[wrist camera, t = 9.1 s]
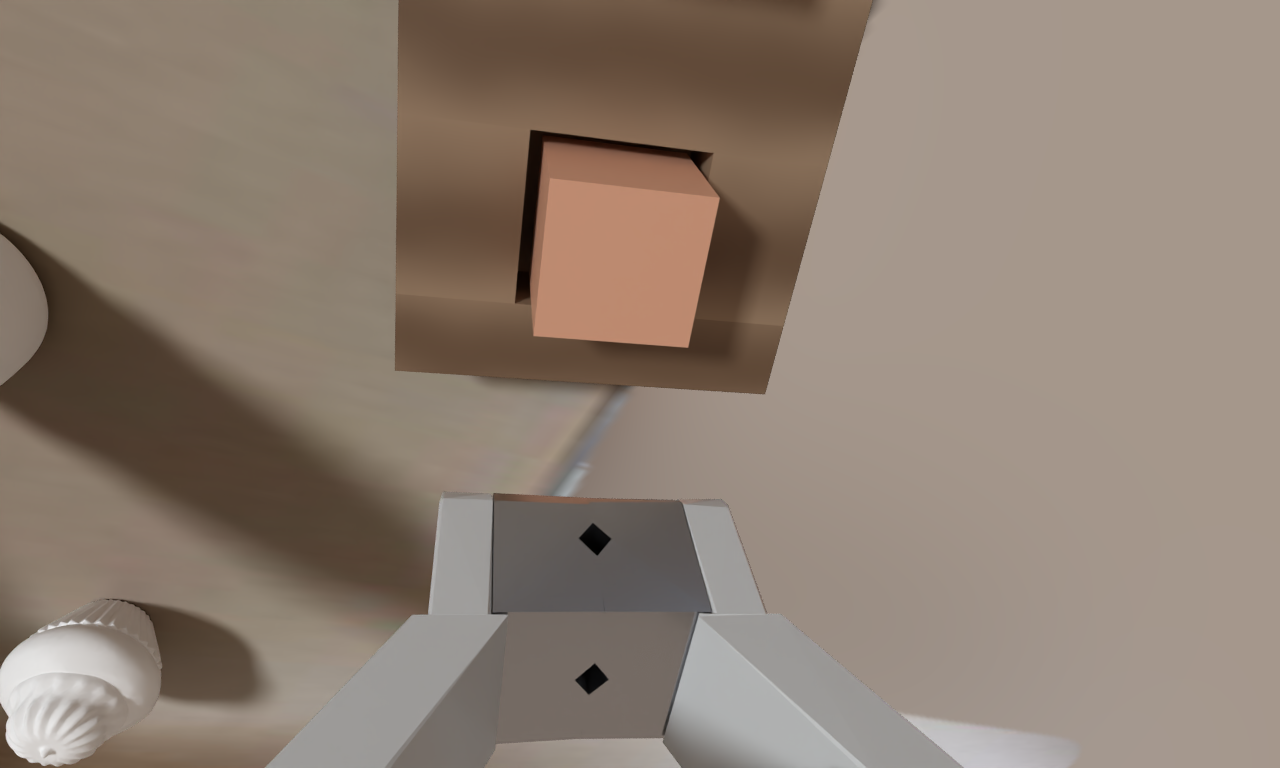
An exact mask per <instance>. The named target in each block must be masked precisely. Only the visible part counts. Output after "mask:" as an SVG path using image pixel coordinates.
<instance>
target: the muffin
mask: <svg viewBox="0 0 1280 768" xmlns="http://www.w3.org/2000/svg"><path fill="white" fill-rule="evenodd" d="M161 669H162V662H161V657H160V652H159V648H158V643H157V640H156V635H155V631H154V627H153V623H152V621H151V620H150V618H149V616H148V615H146V614H145V611H142V610H140V607H136V606H134V604H129V603H128V602H126V601H125V602H122V601H120V600H116V601H115V600H112V599H110V600H105V599H103V600H97V601H95V602H90V603H88V604H86V605H84V606H82V607H80V608H78V609H76V610H74V611H73V612H71V613H69V614H67V615H65V616H63V617H61V618H59V619H57V620H56V621H54V622H52V623H50V624H48V625H46V626H44V627H42V628H40V629H39V630H38V632H36V633H35V634H33V635H31V636H30V638H28V639H26V640H25V641H23V642H22V643H20V644H19V645H18V646H17V647H16V648H14V649H13V650H12V652H11V653H10V654H9V655H8V656H7V658H6V659H5V661H4V662H3V664H2V666H1V669H0V703H1V705H2V707H3V709H4V710H5V712H6V713H7V715H8V717H9V719H8V720H7V723H6V740H7V743H8V744H9V746H10V747H11V748H12V749H13V750H14V752H15V753H16V754H17V756H19V757H21V758H26V759H27V760H28V761H29V762H31V763H36V762H39V763H40V764H41V765H43V766H46V765H49V764H52V765H54V766H57V767H58V766H61V765H63V764H64V763H65V764H74V763H77V762H78V761H79V760H80V759H83V758H86V757H89V756H91V755H92V754H93V753H94V752H95V750H96V748H98V747H99V746H101V745H102V744H103V743H104V741H106V740H108V739H109V738H110V737H112V736H114V735H117V734H119V733H121V732H123V731H125V730H127V729H129V728H131V727H133V726H134V725H136V724H137V723H139V722H140V721H142V720H143V719H144V718H145V717H146V716H147V715H148V714H149V713H150V712H151V710H152V709H153V707H154V706H155V704H156V702H157V699H158V697H159V693H160V689H161Z"/></svg>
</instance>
